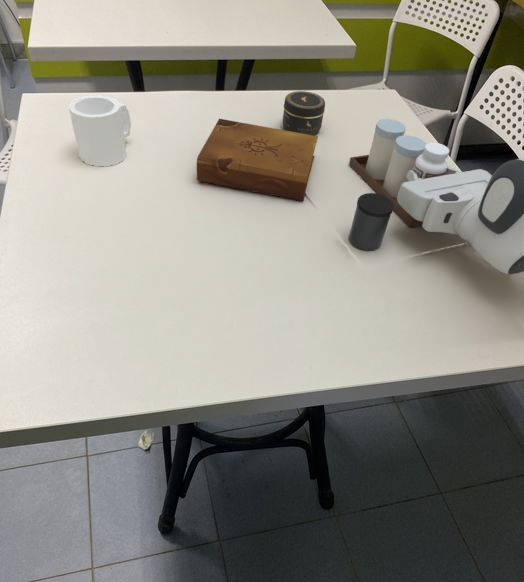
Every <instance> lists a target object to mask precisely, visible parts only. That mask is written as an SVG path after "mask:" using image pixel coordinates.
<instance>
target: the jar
mask: <svg viewBox="0 0 524 582" xmlns="http://www.w3.org/2000/svg"><path fill="white" fill-rule="evenodd" d="M325 108H326V100H325V98H323V97H322V95H321V96H320V95H319V94H317V93H314V92H310V91H305V90H297V91H292V92H290V93H288V94H287V95H286V96H285V97H284V104H283V114H282V127H283V130H285V131H291V132H296V133H302V134H307V135H313V136H317V135H318V134H319V132H320V131H321V129H322V126H323V120H324V114H325V110H326V109H325Z"/></svg>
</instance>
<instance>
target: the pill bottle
mask: <svg viewBox="0 0 524 582" xmlns="http://www.w3.org/2000/svg"><path fill="white" fill-rule="evenodd" d="M449 154H450V148H449V147H447V146H446V145H445V144H442V143H438V142H427V143H426V145H425V147H424V150H423V154H421V155H420V156H418V157H417V159H416V162H415V164H414V168H413V170H417V171H418V172H419V173H420V174H419V177H418V178H421V179H426V178H432V177H437V176H443V175H445V172H446V169H447V165H448V162H447V159H448V158H449V157H448V156H449Z"/></svg>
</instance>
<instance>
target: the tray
mask: <svg viewBox="0 0 524 582" xmlns="http://www.w3.org/2000/svg"><path fill="white" fill-rule="evenodd" d="M368 157H369V154H363V155H358V156H351V157H350V158H349V162H348V166H349V167H350V168H351V169H352V170H353V171H354V172H355V173H356V174H357V175H358V177H360V179H361V180H362V181H363V182H365V183H366V185H367V186H368V187H369V188H370V189H371V190H372V191H373V193H376V194H380V195H383V196H385V197H387V198H389V199H390V200H391V201H392V202H393V205H394V208H393V211H392V212H393V213H394V214H395V215H396V216H397V217H398V218H399V219H400V220H401V221H402V223H404V224H405V225H406V227H408V229H412V228H416V227H422V224H423V222H422V221H418V220H416V219H414V218H413V217H412V216H411V215H410V214H408V213H407V212H406V211H405V210H404V209H403V208H402V207H401V205H400V204H399V203H398V201H397V198H394V197H391V196H390V195H389V194H388V193H387V191H386V190H385V189H384V188H383V184H384V180H376V179H374V178H373V177H372V176H371V175H370V174H369V173H368V172H367V171H366V170H365V169H366V165H367V161H368Z"/></svg>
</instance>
